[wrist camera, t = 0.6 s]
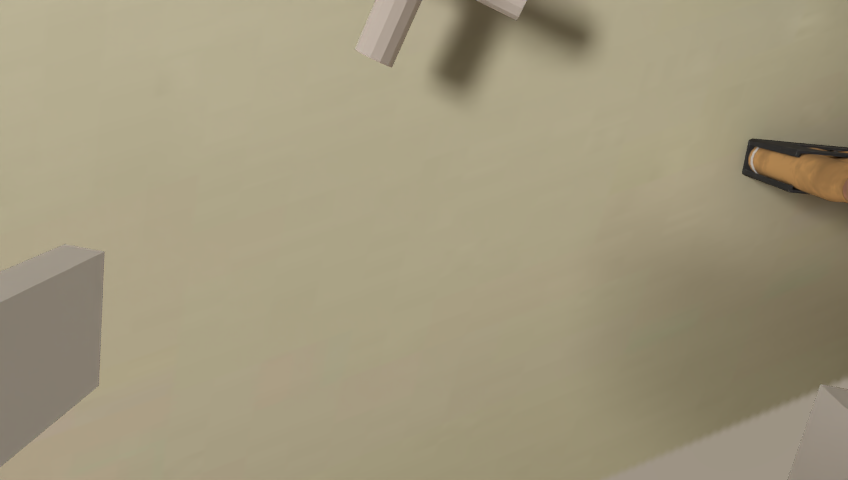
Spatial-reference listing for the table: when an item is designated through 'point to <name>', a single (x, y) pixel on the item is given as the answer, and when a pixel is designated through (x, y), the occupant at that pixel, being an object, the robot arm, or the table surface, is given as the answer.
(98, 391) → the table surface
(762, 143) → the ammunition clip
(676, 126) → the table surface
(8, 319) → the robot arm
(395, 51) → the pipe connector
